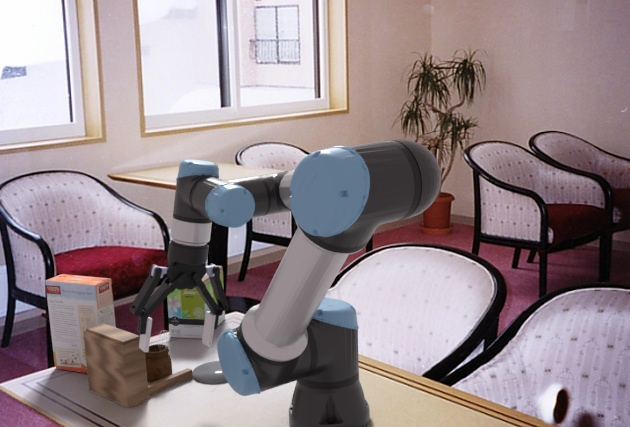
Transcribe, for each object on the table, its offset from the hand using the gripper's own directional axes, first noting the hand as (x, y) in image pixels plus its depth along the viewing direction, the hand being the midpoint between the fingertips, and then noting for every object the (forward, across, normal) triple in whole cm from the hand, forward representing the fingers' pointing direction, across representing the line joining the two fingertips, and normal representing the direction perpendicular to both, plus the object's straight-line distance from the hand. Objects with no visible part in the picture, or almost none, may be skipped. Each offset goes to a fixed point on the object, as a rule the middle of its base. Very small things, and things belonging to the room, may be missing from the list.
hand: (175, 347), depth 158 cm
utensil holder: (+13, -5, -15) cm, 20 cm away
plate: (+10, -16, -9) cm, 21 cm away
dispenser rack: (+13, -1, -14) cm, 19 cm away
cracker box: (+16, +4, -31) cm, 35 cm away
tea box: (+11, -26, -38) cm, 47 cm away
